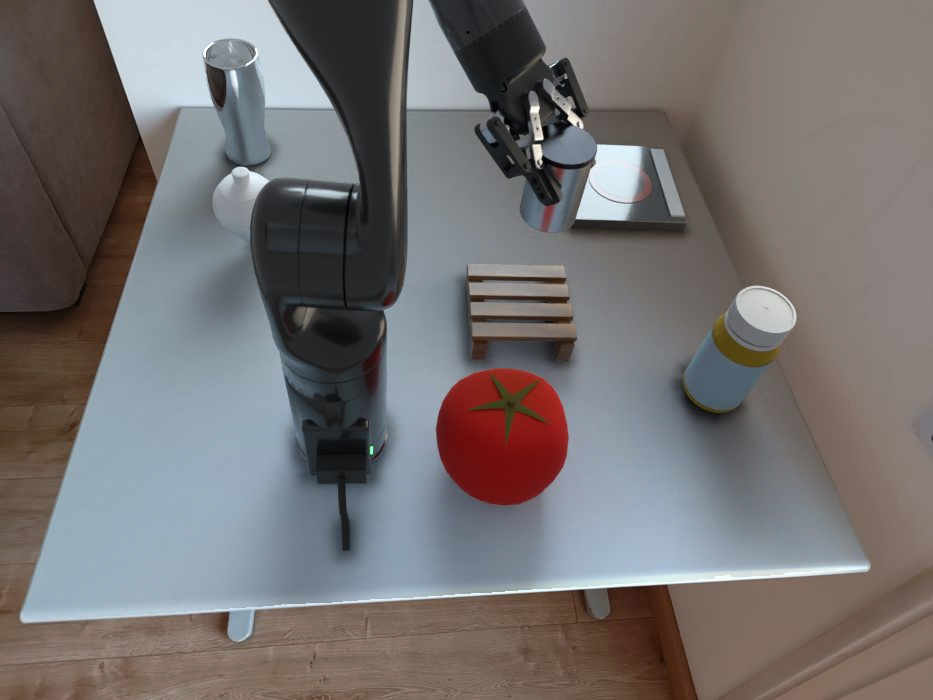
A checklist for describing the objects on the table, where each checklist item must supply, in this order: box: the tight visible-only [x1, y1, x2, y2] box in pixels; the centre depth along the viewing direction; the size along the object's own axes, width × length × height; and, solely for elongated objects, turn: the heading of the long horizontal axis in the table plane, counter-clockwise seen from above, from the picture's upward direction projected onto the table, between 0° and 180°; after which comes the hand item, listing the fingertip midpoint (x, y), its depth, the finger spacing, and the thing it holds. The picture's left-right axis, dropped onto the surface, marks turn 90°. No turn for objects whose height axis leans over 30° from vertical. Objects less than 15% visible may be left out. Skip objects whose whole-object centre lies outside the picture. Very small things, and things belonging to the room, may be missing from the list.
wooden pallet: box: [465, 263, 578, 361], centre depth 85 cm, size 12×12×4 cm
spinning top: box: [211, 166, 270, 243], centre depth 85 cm, size 8×8×12 cm
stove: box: [570, 143, 688, 231], centre depth 101 cm, size 16×16×2 cm
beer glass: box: [201, 38, 272, 167], centre depth 93 cm, size 7×7×15 cm
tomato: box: [435, 367, 570, 507], centre depth 70 cm, size 13×14×12 cm
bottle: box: [682, 285, 798, 414], centre depth 77 cm, size 7×7×15 cm
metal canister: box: [519, 123, 597, 234], centre depth 71 cm, size 6×6×9 cm
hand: (571, 184), depth 71 cm, fingers closed on metal canister, 6 cm apart
